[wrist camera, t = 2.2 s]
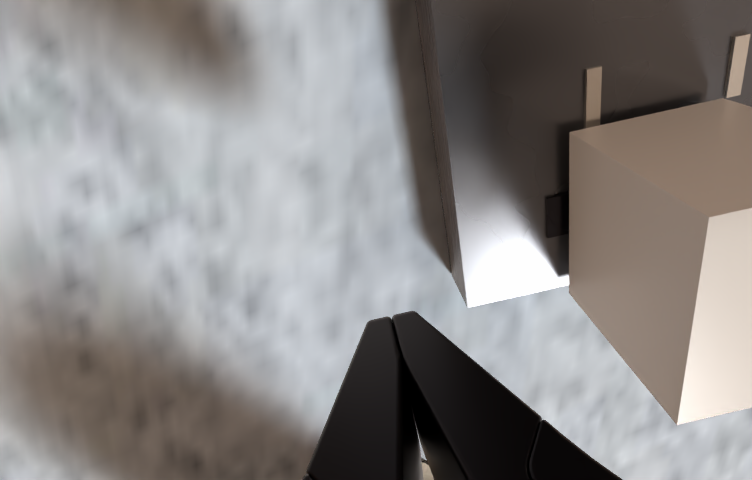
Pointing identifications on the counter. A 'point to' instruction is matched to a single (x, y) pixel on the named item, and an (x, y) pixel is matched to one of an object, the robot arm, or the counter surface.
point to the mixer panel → (554, 112)
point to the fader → (669, 250)
